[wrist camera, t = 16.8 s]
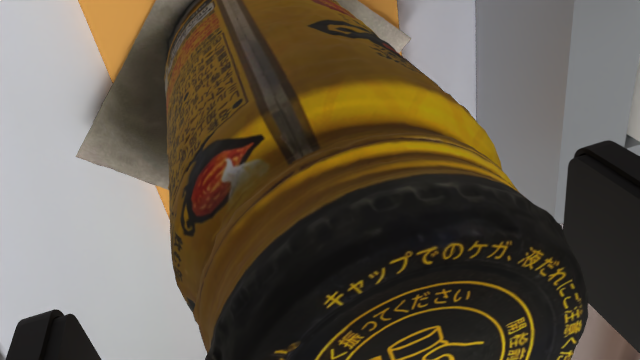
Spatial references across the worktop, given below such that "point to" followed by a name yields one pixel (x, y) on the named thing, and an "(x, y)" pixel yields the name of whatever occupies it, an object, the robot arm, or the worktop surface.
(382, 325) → the condiment
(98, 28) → the lockout pad
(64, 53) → the worktop surface
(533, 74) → the box
